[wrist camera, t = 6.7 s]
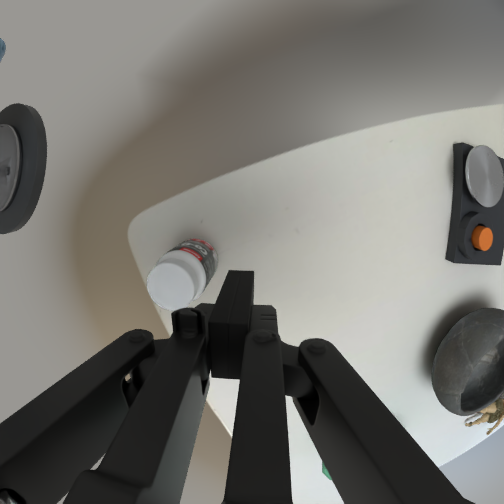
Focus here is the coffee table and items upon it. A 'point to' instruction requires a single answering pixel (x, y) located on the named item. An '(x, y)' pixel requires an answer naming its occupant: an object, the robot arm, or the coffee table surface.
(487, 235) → the button
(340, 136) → the coffee table surface
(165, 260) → the pill bottle
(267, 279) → the coffee table surface
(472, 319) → the bowl
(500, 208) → the scale
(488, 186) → the scale pan
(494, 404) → the figurine
